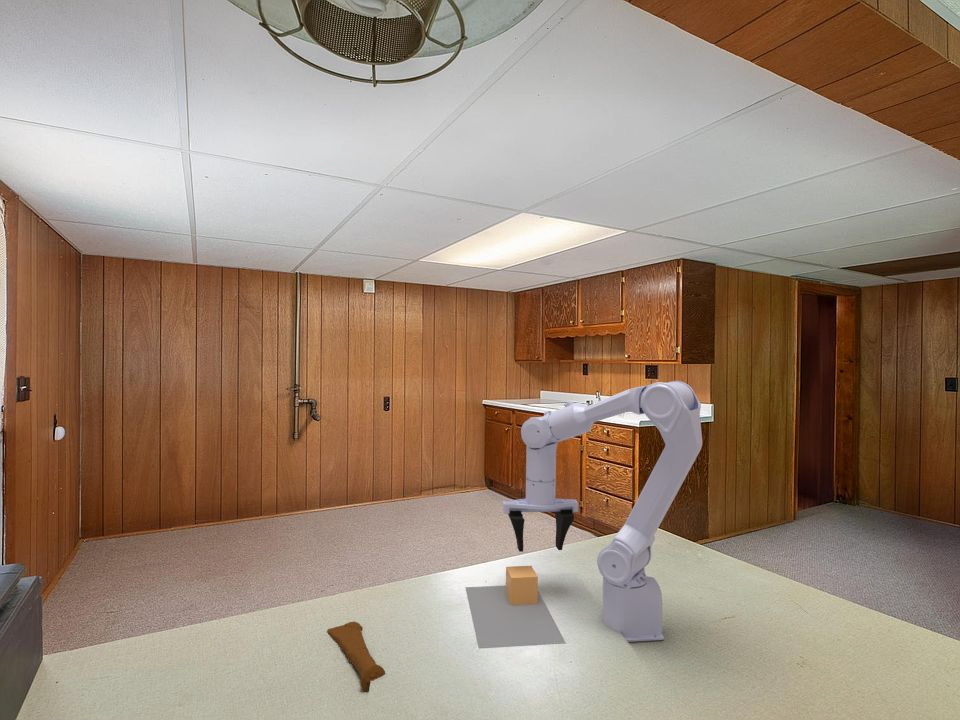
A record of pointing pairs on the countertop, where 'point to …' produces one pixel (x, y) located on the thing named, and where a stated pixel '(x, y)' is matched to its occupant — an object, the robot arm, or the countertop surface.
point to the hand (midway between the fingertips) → (539, 549)
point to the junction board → (510, 620)
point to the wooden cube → (521, 585)
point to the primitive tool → (357, 652)
